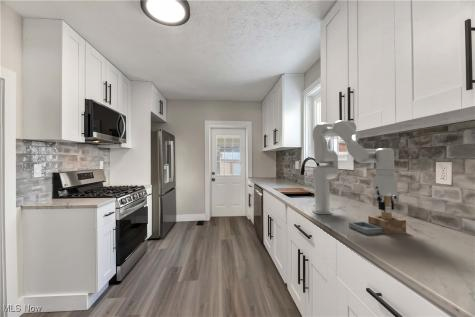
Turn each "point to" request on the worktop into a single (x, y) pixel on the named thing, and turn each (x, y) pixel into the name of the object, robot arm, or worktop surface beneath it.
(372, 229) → the tray
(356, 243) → the worktop surface
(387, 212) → the sprinkles bottle
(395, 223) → the brown wooden box
